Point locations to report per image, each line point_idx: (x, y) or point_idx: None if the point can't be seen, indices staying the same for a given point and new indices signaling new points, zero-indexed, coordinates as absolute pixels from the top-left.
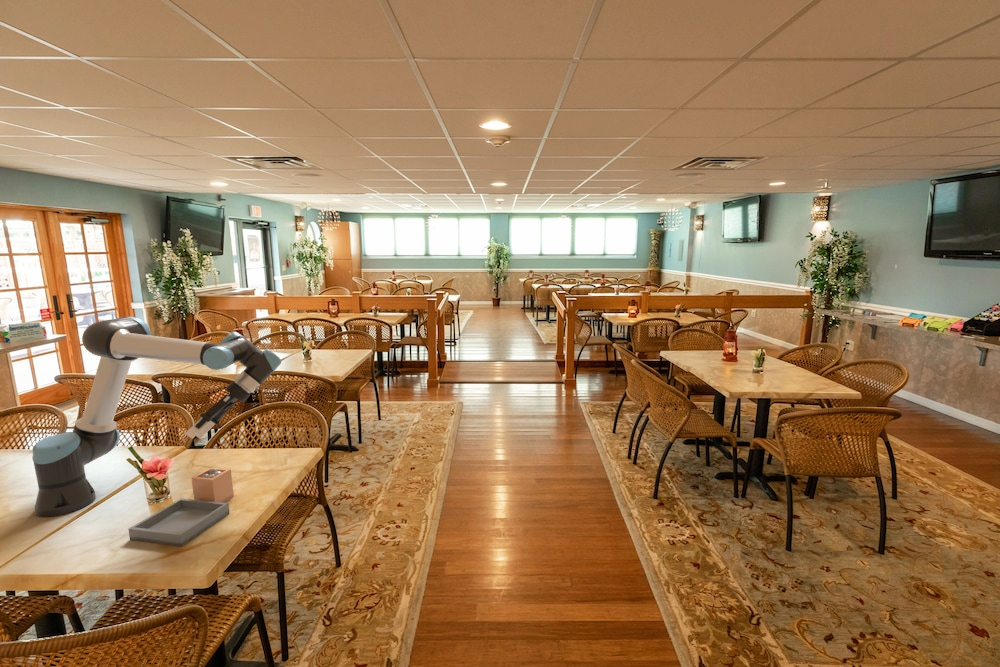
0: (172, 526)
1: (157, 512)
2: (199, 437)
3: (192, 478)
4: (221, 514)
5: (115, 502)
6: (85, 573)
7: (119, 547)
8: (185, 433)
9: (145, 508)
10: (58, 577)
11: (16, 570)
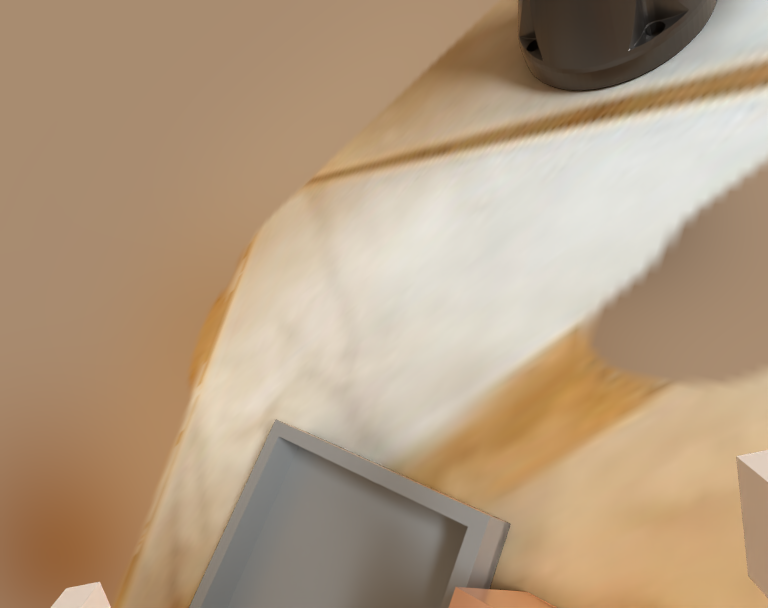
0: (314, 569)
1: (365, 465)
2: (757, 565)
3: (454, 595)
4: None
5: (622, 163)
6: (191, 410)
7: None
8: (65, 596)
9: (544, 331)
10: (202, 353)
11: (265, 232)
